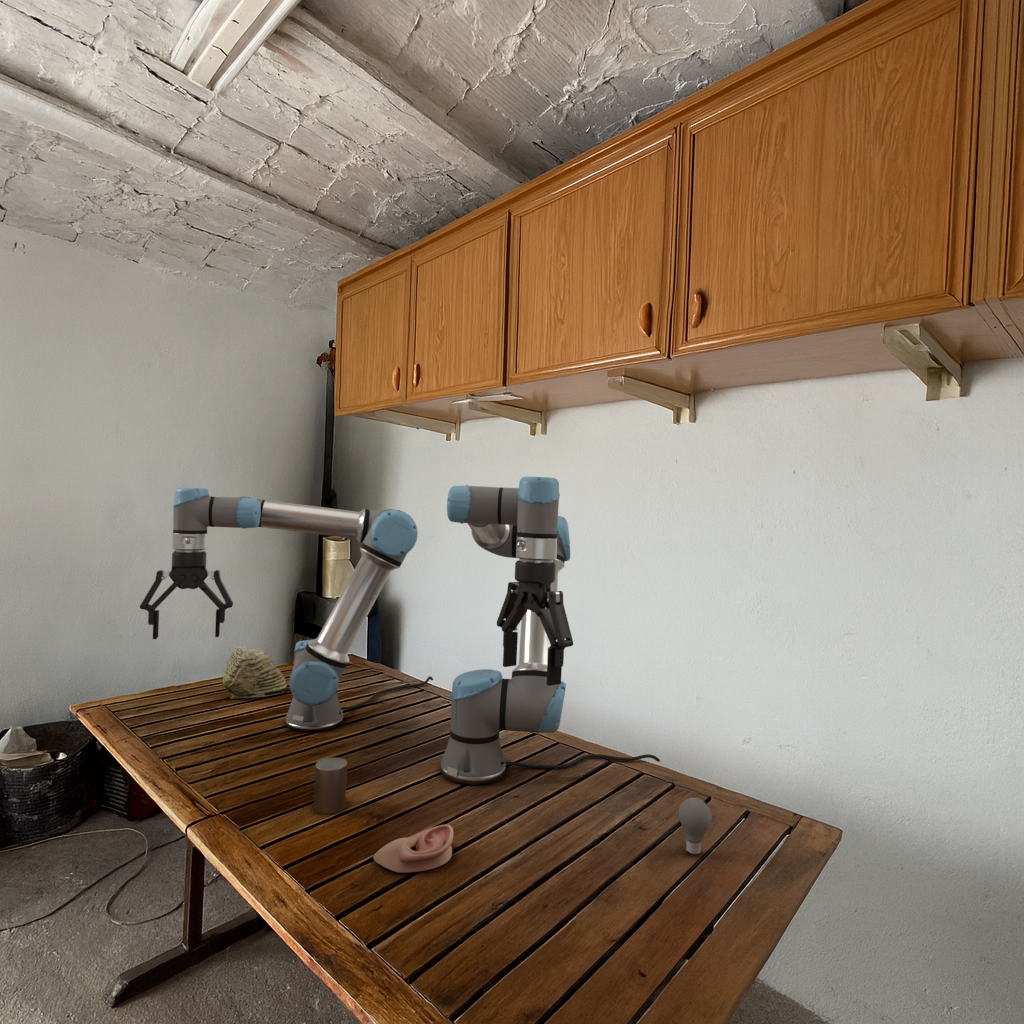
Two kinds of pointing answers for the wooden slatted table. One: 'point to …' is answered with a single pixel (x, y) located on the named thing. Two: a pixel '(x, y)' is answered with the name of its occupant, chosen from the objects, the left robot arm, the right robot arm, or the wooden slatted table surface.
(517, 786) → the wooden slatted table surface
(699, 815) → the light bulb
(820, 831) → the wooden slatted table surface
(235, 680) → the fossil
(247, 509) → the left robot arm
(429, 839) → the anatomical model
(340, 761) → the can
